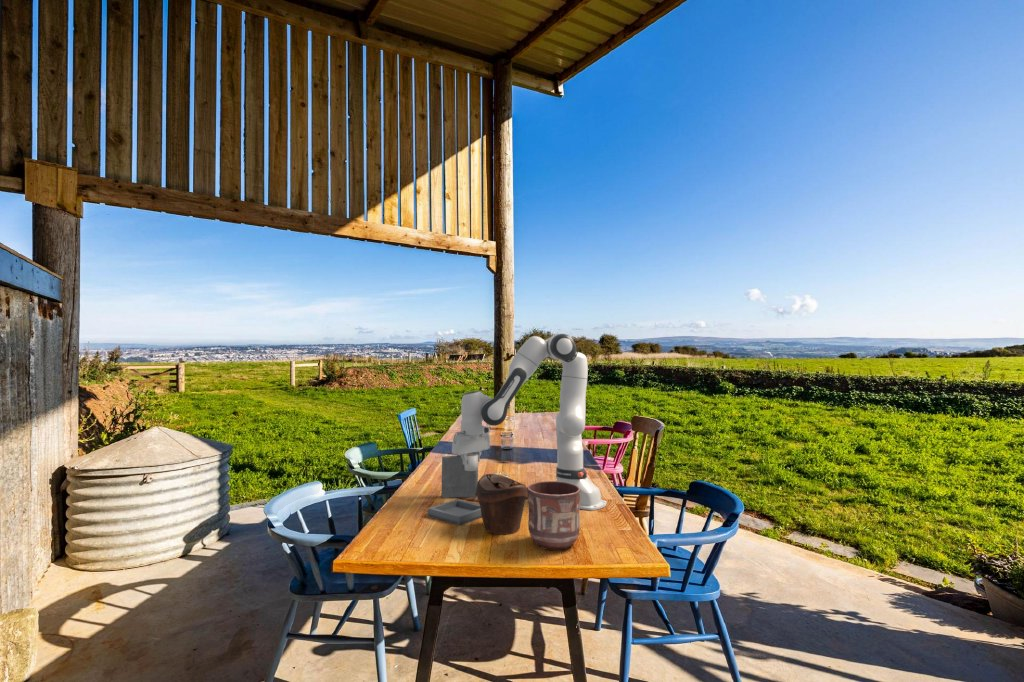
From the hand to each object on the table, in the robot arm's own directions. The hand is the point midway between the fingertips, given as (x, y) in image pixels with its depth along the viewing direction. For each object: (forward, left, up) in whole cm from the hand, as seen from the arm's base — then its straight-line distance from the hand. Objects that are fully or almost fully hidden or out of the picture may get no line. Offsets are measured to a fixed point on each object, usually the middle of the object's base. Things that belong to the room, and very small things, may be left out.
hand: (471, 463), depth 198 cm
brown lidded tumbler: (-29, +15, -17) cm, 37 cm away
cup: (0, 0, -3) cm, 3 cm away
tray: (-6, +14, -17) cm, 23 cm away
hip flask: (+12, -6, -17) cm, 22 cm away
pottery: (-51, +16, -17) cm, 56 cm away
